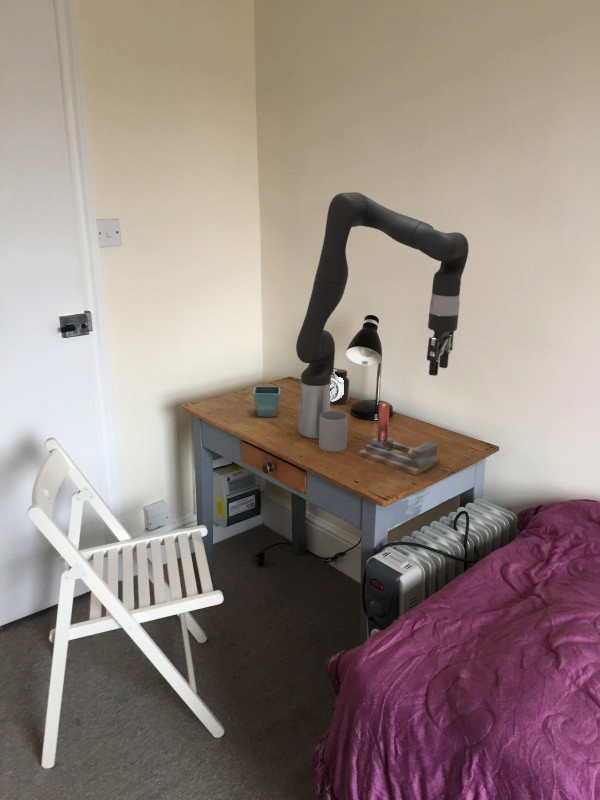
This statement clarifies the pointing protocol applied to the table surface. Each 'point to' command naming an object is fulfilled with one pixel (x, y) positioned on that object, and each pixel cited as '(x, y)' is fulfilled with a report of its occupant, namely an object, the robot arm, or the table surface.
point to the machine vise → (404, 456)
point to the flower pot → (266, 400)
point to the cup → (333, 431)
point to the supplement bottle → (343, 375)
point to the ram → (383, 428)
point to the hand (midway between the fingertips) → (438, 371)
